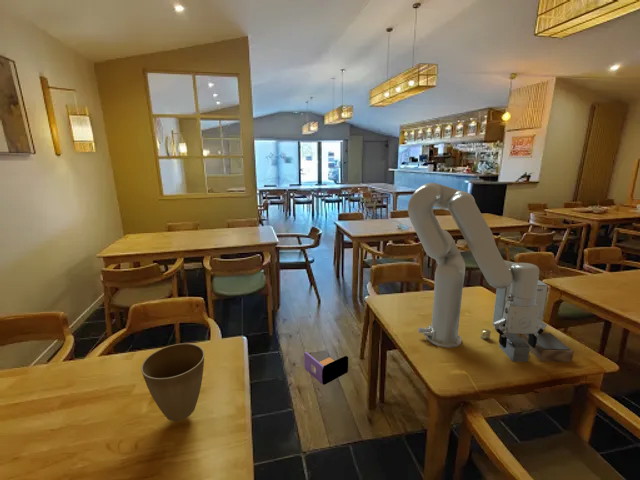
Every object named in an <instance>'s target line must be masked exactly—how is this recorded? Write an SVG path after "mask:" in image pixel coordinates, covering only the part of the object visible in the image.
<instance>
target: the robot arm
mask: <svg viewBox="0 0 640 480" xmlns="http://www.w3.org/2000/svg"><path fill="white" fill-rule="evenodd" d="M434 208H438V209H441V210H444V211H448V212H449V213H450V215H451V217H452V219H453V221H454V222H455V224H456V226H457V228H458V230H459V232H460V234H461V235H462V237H463V239H464V241H465V242H466V245H467V247H468V249H469V250H470V251H469V252H471V254H472V256H473V258H474V260H475V262H476V264H477V266H478V269H480V272H481V274H482V275H483V276H484V278H485V280H486V282H487V284H488V285H490V286H491V287H493V288H494V289H496V290H497V289H504V288H507V287H508V286H510V284H511V286H510V294H509V296H508V297H506V298H505V299H506V300H507V303H506V306H505V309H504V313H503V319H501V320H499V321H496V322H494V323H493V322H492V326H493V329H494V330H495V332H497V333H498V334H499V336H498V337H499V338H498V343H499V345H500V344H501V346H502V347H503V348H506V344H507V337H506V336H507V335H508V334H509V333H511V334H517V335H522V334H529V338H528V344H529V345H530V346H532V347H533V348H535V346H536V343H537V337H539V335H540V334H541V333H544V330H545V329H546V328H547V326H548V324H547V323H545V322H544V321H543V320H542V321H540V320H539V309H538V305H537V304H535V303H536V295H537V287H538V280H540V279H539V276H540V268H539V266H538V265H536V264H533V263H530V262H529V263H528V262H514V261H510V260H505V259H504V258H503V256H502V255H501V252H500V250H499V249H498V247H497V244H496V240H495V237H494V234H493V232H492V230H491V227H490V226H489V225H488V223H487V221H486V219H485V218H484V216H483V214H482V213H481V211H480V208H479V207H478V205H477V203H476V199H475V198H474V196H473V195H472V194H471V193H469V192H468V191H464V190H461V189H457V188H453V187H450V186H447V185H443V184H440V183H437V182H428V183H425V184H422V185H420V186H419V187H418V188H417V189H416V190H415V191H414V192H413V193H412V195H411V196H410V199H409V201H408V204H407V214H408V218H409V220H410V222H411V225H412V227H413V229H414V231H415V233H416V235H417V237H418V239H419V241H420V243H421V245H422V247H423V250H424V252H425V253H426V255H427V257H430V258H431V259H434V260H435V262H436V264H437V266H436V269H435V272H434V291H433V303H432V314H431V315H432V316H431V317H432V318H431V324H428V326H427V327H417V328H418V329H417V330H418V331H417V332H418V334H419V333H420V334H422V335H423V336H425V337H426V339H427V341H428V342H430V343H431V344H433V345H435V346H438V347H440V348H441V347H442V348H447V349H448V348H449V349H452V348H453V349H454V348H457V347H460V346H461V345H462V341H463V340H462V337H461V336H460V335H459V327H460V318H461V317H460V316H461V308H462V297H463V288H464V281H465V276H466V275H465V274H466V262H465V260H464V258H463V256H462V254H461V252H460V250H459V248H458V246H457V244H456V242H455V239H454V238H453V237H452V235H451V233H449V231H447V230H445V229H443V227H441V224H440V222H439V220H438V219H437V217H436V214H435V213H434ZM501 325H502V328H501V329H499V326H501ZM505 330H506V331H505Z"/></svg>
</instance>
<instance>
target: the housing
mask: <svg viewBox="0 0 640 480" xmlns="http://www.w3.org/2000/svg"><path fill="white" fill-rule="evenodd" d="M506 337H507V344H506V348H503V347H502V346H501V344H500V343H499V349H501V350H502V351H503V352H504V354H505V355H506V356H507V357H508V358H509V359H510V361H512V362H515V363H517V362H520V363H522V362H523V363H528V362H529V356H530V352H531V351H530V347H529V345H528V344H527V343H526V342H525V341H524V340H523V339H522V338H521V337H520V335H519V334H511V333H509V334H508V335H507V336H506Z"/></svg>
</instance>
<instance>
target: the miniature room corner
mask: <svg viewBox="0 0 640 480" xmlns="http://www.w3.org/2000/svg"><path fill="white" fill-rule="evenodd" d="M303 355H304V358H303V359H304V370H306V372H307V373H308V374H310V375H311V376H312V377H313V378H314V379H315V380H317V382H318V383H320V384H321V385H324V386H325V385H327V384H329V383H331V382H333V381H335V380H336V379H338V378H340V377H341V376H343V375H344V376H345V375H346V374H347V373H349V356H347V355H344V356H342V357H340V358H338V359H335V360H334V359H332V357H330V356H329V357H327V358H325V359H322V360H320V361H319V360H317V359H316V358H315V357H314V356H312V355H311V354H310V353H309V352H307V351H305V352H304V354H303Z"/></svg>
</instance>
